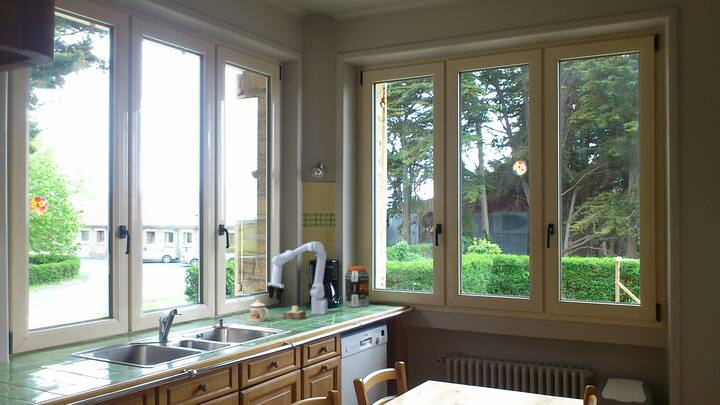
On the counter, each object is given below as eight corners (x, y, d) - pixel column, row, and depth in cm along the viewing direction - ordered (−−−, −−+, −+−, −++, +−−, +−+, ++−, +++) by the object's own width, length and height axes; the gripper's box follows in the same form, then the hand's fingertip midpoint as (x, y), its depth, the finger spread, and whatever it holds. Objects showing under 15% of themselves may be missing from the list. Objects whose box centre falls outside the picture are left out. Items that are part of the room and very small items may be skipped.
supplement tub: (360, 308, 422) (360, 267, 422) (340, 306, 430) (340, 267, 431) (373, 305, 435) (373, 266, 436) (354, 303, 444) (353, 265, 444)
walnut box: (305, 317, 387) (305, 310, 387) (300, 319, 377) (299, 312, 377) (290, 316, 390) (289, 310, 390) (283, 319, 380) (283, 312, 380)
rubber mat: (288, 315, 396) (288, 314, 396) (283, 317, 387) (283, 316, 387) (274, 314, 398) (274, 314, 398) (269, 317, 389) (268, 316, 389)
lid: (304, 312, 386) (303, 305, 387) (299, 314, 378) (299, 307, 378) (290, 311, 389) (290, 305, 389) (285, 313, 381) (285, 306, 381)
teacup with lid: (246, 321, 374) (246, 301, 374) (255, 319, 382) (255, 299, 382) (264, 322, 368) (263, 301, 369) (273, 320, 377) (272, 300, 377)
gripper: (264, 275, 393) (262, 297, 392) (277, 277, 381) (275, 300, 380) (274, 275, 397) (272, 298, 396) (287, 277, 386) (285, 300, 385)
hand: (274, 299), depth 389 cm, fingers open, 7 cm apart
